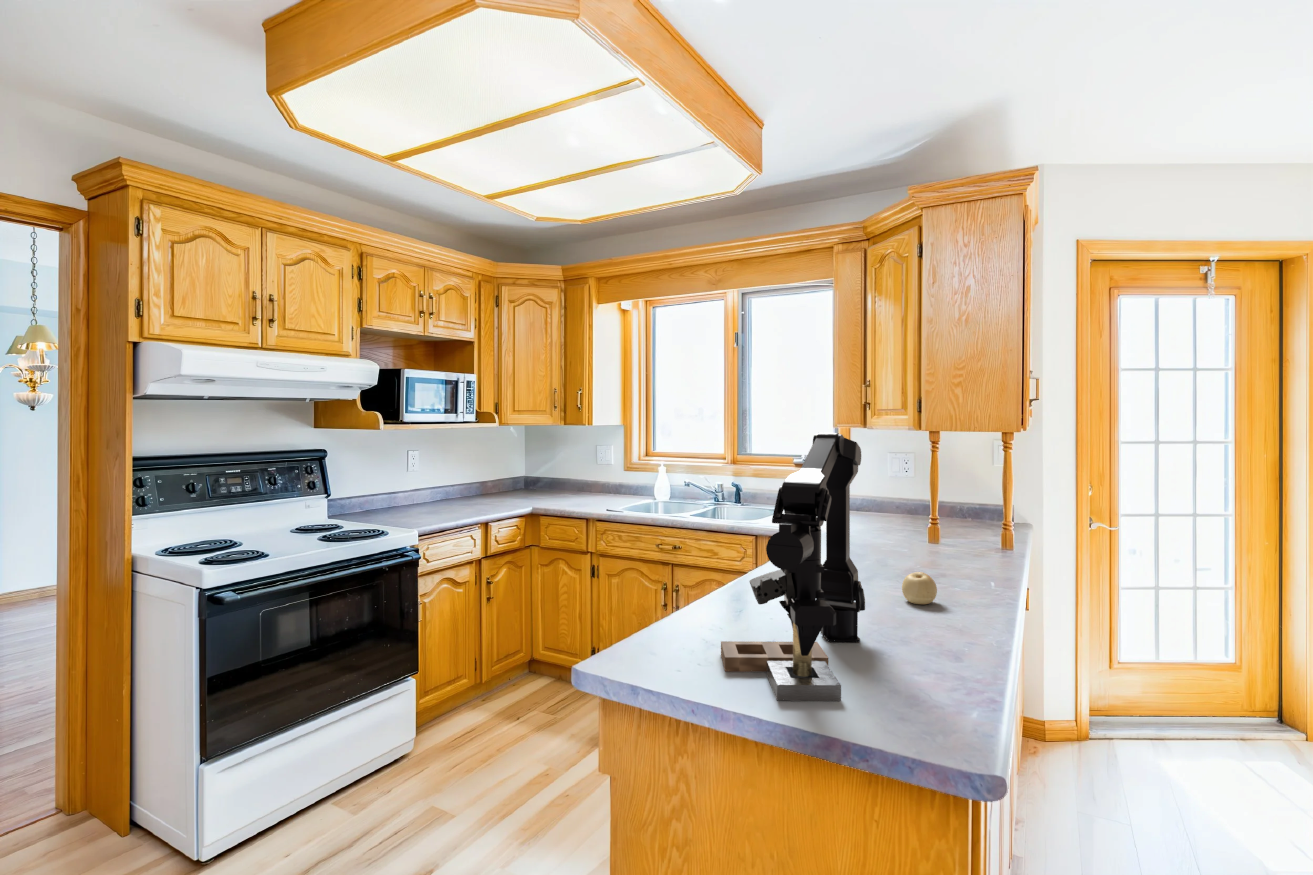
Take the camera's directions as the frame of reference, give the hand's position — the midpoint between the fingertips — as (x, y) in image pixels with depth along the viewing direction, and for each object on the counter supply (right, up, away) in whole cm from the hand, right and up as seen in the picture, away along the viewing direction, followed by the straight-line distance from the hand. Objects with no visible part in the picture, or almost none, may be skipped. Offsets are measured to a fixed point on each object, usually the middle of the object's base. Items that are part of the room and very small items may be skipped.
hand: (802, 651), depth 104 cm
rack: (-3, -6, +11) cm, 12 cm away
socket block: (0, -6, 0) cm, 6 cm away
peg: (0, -4, 0) cm, 4 cm away
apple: (+40, -5, +49) cm, 63 cm away
